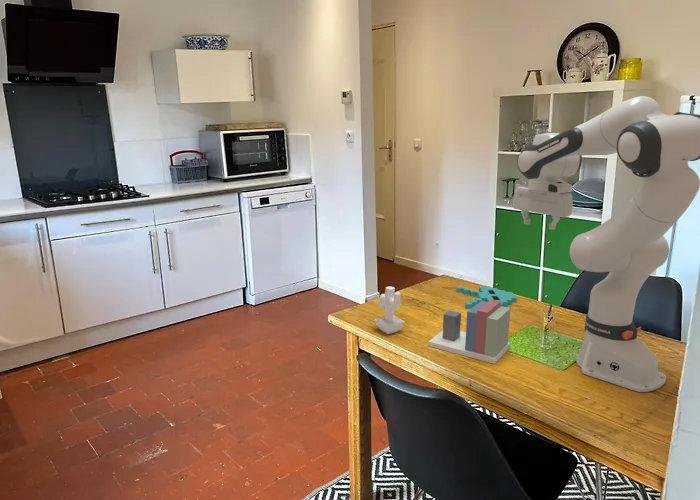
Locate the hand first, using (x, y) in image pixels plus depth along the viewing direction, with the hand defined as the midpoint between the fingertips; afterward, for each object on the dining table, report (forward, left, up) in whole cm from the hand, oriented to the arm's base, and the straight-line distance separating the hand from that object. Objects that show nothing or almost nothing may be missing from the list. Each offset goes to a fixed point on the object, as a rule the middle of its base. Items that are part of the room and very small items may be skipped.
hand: (539, 226), depth 172 cm
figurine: (+22, +44, -33) cm, 59 cm away
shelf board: (-2, +32, -33) cm, 46 cm away
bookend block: (+4, +34, -32) cm, 47 cm away
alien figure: (+23, -5, -34) cm, 41 cm away
